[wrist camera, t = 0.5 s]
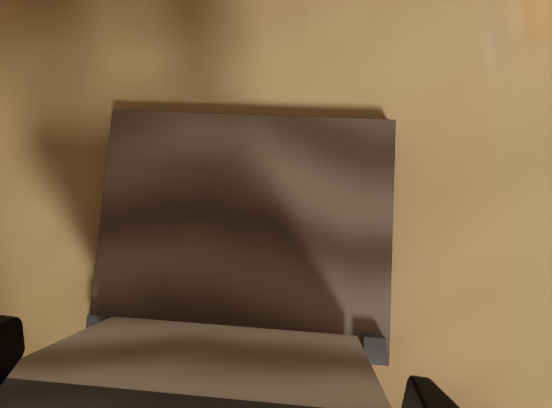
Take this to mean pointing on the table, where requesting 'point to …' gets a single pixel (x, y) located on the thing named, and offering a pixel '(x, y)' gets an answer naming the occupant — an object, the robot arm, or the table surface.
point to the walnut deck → (249, 223)
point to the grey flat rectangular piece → (194, 369)
